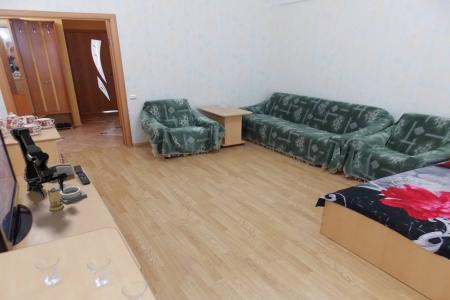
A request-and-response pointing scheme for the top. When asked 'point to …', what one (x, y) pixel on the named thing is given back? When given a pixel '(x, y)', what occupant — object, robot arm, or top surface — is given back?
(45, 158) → the robot arm
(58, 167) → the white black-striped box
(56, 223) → the top surface
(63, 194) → the board
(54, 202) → the gold pepper grinder
